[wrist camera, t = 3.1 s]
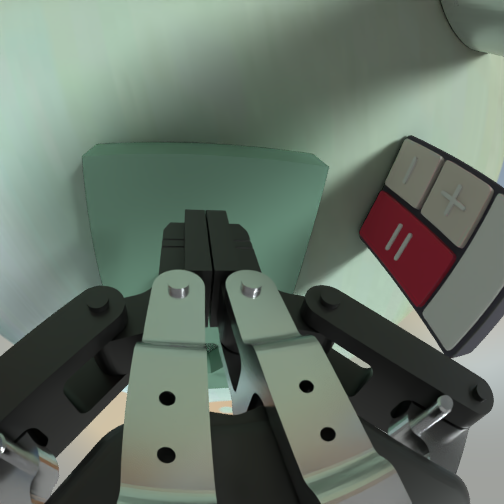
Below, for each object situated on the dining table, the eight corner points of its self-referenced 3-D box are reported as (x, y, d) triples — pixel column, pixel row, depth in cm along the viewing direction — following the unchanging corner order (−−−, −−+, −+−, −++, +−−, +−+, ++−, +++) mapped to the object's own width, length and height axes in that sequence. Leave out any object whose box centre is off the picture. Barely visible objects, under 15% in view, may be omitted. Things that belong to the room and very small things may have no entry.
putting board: (313, 154, 20) (329, 167, 18) (257, 366, 36) (261, 384, 34) (96, 144, 17) (82, 156, 14) (137, 368, 32) (136, 388, 30)
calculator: (402, 129, 20) (547, 219, 8) (430, 148, 21) (555, 236, 10) (351, 234, 26) (442, 363, 14) (382, 242, 27) (468, 356, 15)
